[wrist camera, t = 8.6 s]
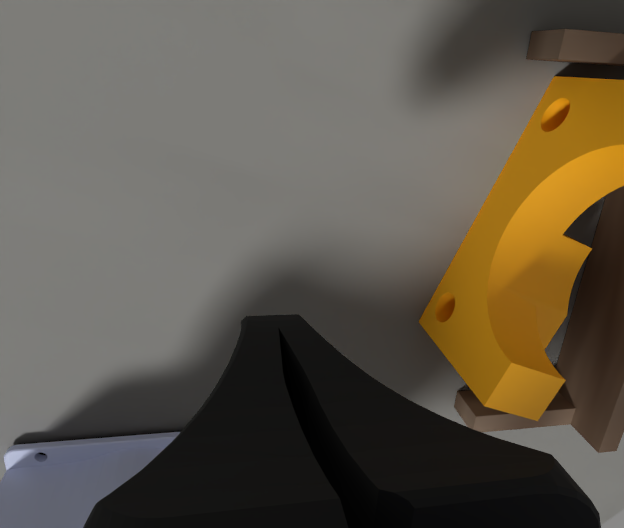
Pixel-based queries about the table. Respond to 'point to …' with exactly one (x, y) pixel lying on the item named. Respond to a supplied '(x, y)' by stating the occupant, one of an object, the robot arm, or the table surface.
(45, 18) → the table surface
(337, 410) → the robot arm
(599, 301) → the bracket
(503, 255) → the pipe clamp
